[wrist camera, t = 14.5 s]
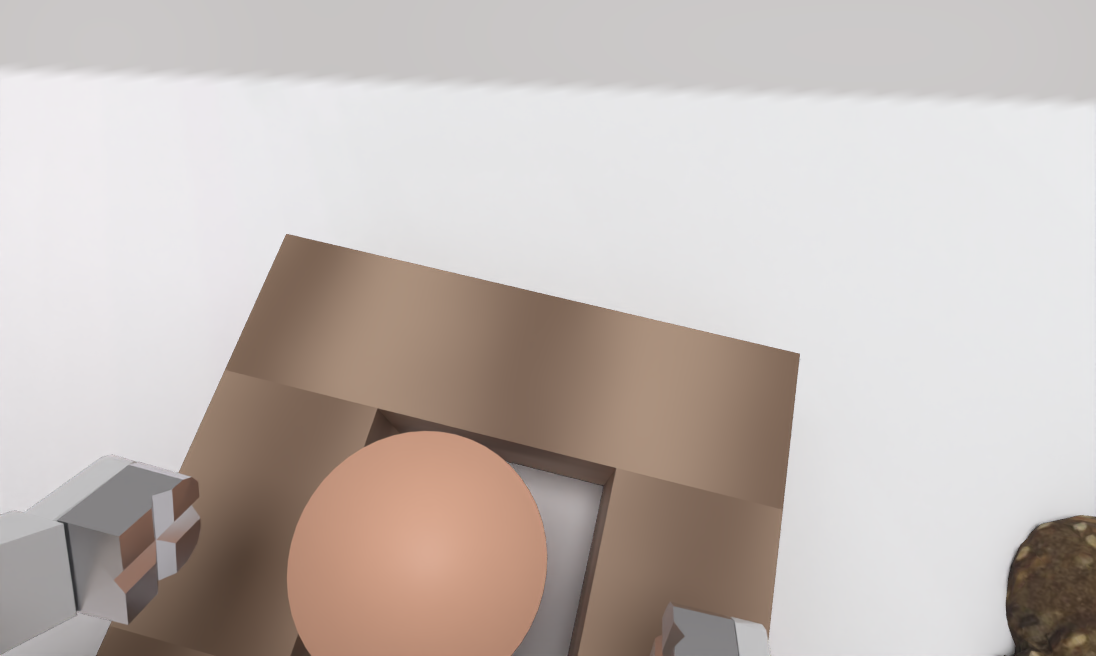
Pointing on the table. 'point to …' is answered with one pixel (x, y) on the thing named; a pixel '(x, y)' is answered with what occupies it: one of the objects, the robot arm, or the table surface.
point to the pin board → (491, 420)
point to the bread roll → (1055, 590)
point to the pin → (418, 553)
